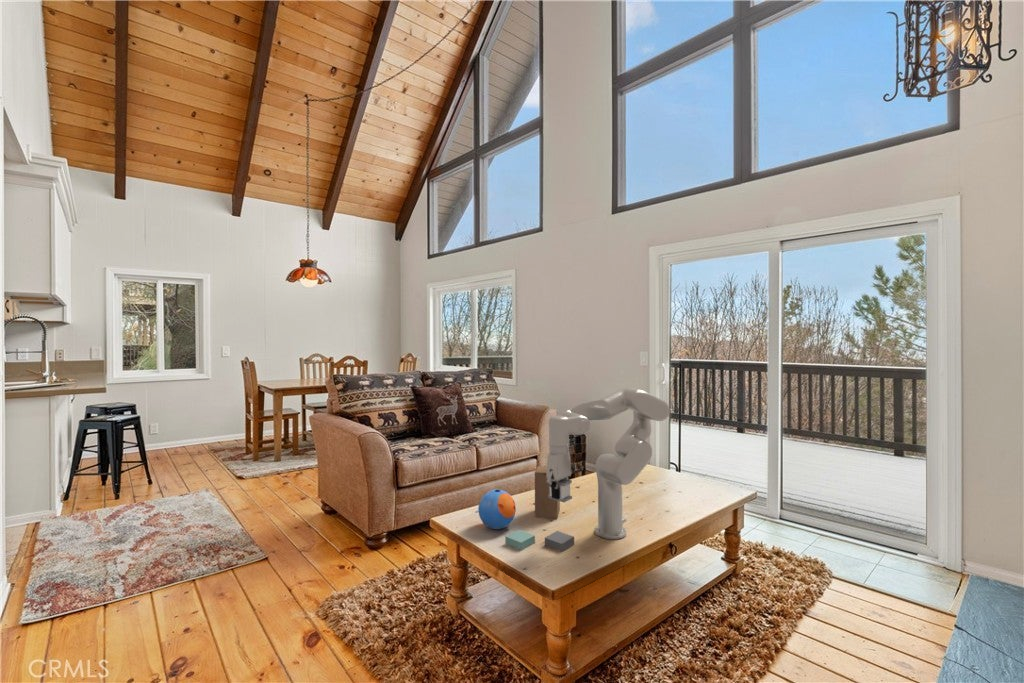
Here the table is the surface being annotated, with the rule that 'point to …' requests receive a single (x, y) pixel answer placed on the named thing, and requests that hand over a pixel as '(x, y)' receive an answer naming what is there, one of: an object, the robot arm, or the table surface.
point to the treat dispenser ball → (497, 509)
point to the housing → (562, 490)
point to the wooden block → (544, 496)
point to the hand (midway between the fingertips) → (560, 495)
